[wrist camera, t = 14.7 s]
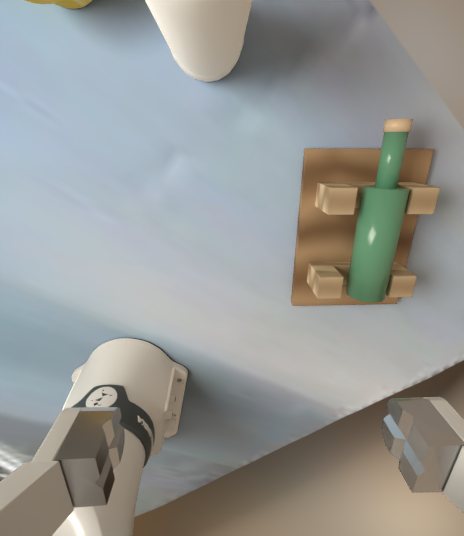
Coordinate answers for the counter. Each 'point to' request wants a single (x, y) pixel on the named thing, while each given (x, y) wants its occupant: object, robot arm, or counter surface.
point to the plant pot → (64, 3)
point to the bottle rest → (350, 222)
